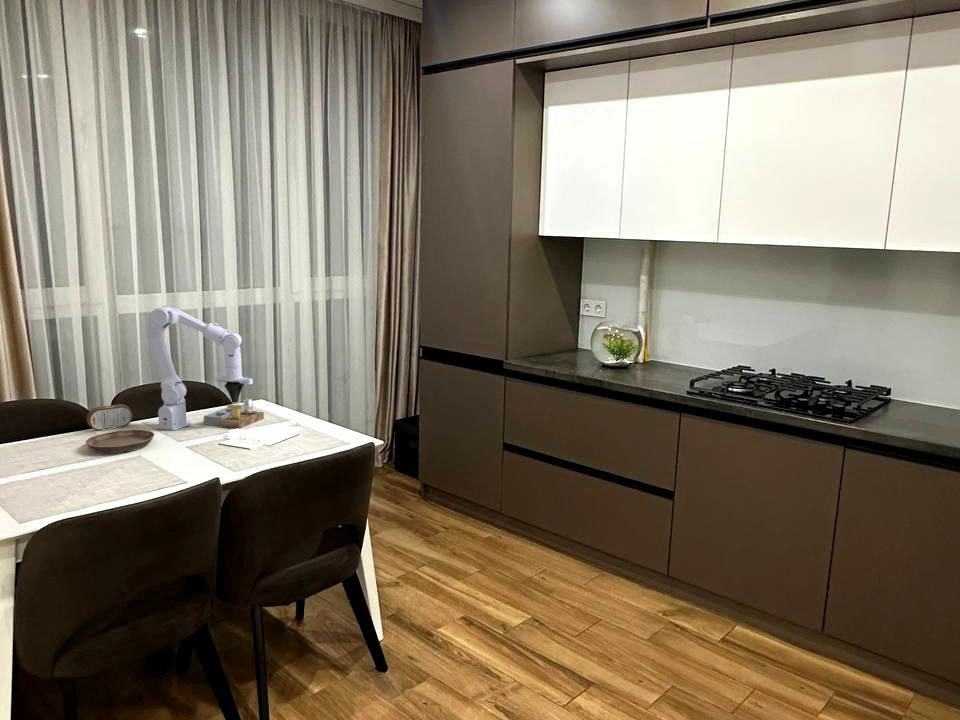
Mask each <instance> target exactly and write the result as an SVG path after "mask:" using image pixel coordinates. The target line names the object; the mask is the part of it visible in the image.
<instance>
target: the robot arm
mask: <svg viewBox="0 0 960 720" xmlns="http://www.w3.org/2000/svg"><path fill="white" fill-rule="evenodd" d="M147 317H148V320H147V324H146V325H147V326H146V331H145V334H146V337H147V339H148V340H147V341H148V343H149V345H150V350H151V352H152V355H153V358H154V360H155V364H156V366H157V369H158V372H159V376H160V378H161V382H160V388H161V400H162V401H163V405H162V406H160V407H159V409H158V411H157V416H158V418H157V419H158V426H157V428H156V429H161V430H171V431H178V430H179V429H182V428H185V427H188V426H190V425H192V424H193V422H189V421H187V410H186V409H187V408H186V399H185V396H186V395H187V387H186V385H185V384H184V383H183V382H182V380H181V378H180V377H179V376H178V374H177V373H176V370H175V366H174V363H173V360H172V357H171V354H170V351H169V348H168V345H167V342H166V340H165V336H164V332H165V331H166V330H167V328H168V326H169V325H173V324H174V325H175V324H182V325H185V326H186V327H188V328H189V327H190V328H192V329H195V330H197V331H199V332H201V333H202V335H203V337H204V338H206V339H208V340H210V341H212V342H214V343H216V344H218V345H221V346H222V348H224V371H225V375H217V376H215V383H225V384H224V388H225V389H226V391H227V392H228V395H229V397H230V401H231V403H232V404H233V403H234V404H237V403H238V402H239V399H240V395H241V391H242V389H243V387H244V385H249V386H250V385H252V384H254V383H253V381H254V380H253V378H252V377H251V378H250V377H245V376H243V373H242V372H243V371H242V353H241V346H240V345H242V342H243V339H242V336H241V335H240V334H239V333H237V332H235V331H231V330H230V329H225V328H224V327H221V326H219V323H217V322H214V323H213V322H210V323H205V322H203V321H202V320H199V319H198V318H195V317H194V316H192V315H191V314H188V313H186V312H184V311H183V310H181V309H179V308H176V307H175V308H174V307H173V306H171V305H164V306H161V307H157V308H154V309H153V310H152V311H151V312H150V314H149V316H147Z"/></svg>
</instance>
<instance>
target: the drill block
mask: <svg viewBox="0 0 960 720" xmlns="http://www.w3.org/2000/svg"><path fill="white" fill-rule="evenodd" d="M263 419H265V413H264V411H257V410H256V411H254V410H253V415H251V416H249V415H244V411H243V412H240V419H232V417H231V416H230V417H227V418H225V419H222V420H220V425H219V427H220V428H224V429H225V428H227V429H238V428H239V429H243V428H245V427H247V426H250V425H252V424H254V423H257V422H259V421H262V420H263Z"/></svg>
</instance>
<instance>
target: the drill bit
mask: <svg viewBox="0 0 960 720" xmlns="http://www.w3.org/2000/svg"><path fill="white" fill-rule="evenodd" d="M243 405H244V415H249V416H251V415H253V411H254V410H253V409H254V408H253V407H254V406H253V399H252V398H244V399H243Z"/></svg>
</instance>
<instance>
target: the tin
mask: <svg viewBox="0 0 960 720" xmlns="http://www.w3.org/2000/svg"><path fill="white" fill-rule="evenodd" d="M133 414H134V413H133V411H132V410H131V408H130V407H129V406H128V405H127V404H123V403H122V404H119V403H118V404H113V405H103V406H96V407H94V408H92V409H90V411H89V412H88V413H87V415H86V423H87V425H88V426H89V427H90V428H92V429H93V430H95V431H103V430H102V429H107V430H109V429H108V428H113V427H121V428H124V426H125V427H127V426H128V425H129V424H131V422H132V421H133V418H134V415H133ZM113 429H114V428H113Z"/></svg>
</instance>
